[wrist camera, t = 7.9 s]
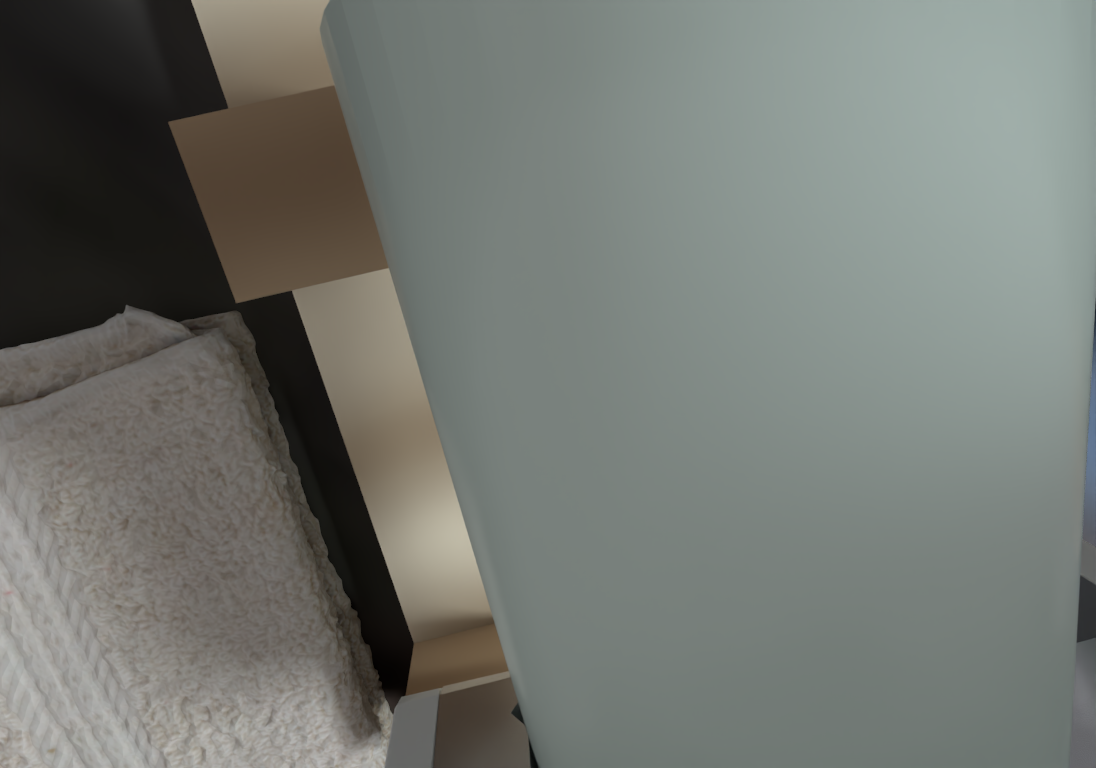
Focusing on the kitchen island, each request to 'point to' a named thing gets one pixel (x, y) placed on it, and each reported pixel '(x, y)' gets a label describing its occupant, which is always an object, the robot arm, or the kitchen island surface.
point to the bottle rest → (336, 306)
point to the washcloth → (167, 564)
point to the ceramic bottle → (752, 359)
